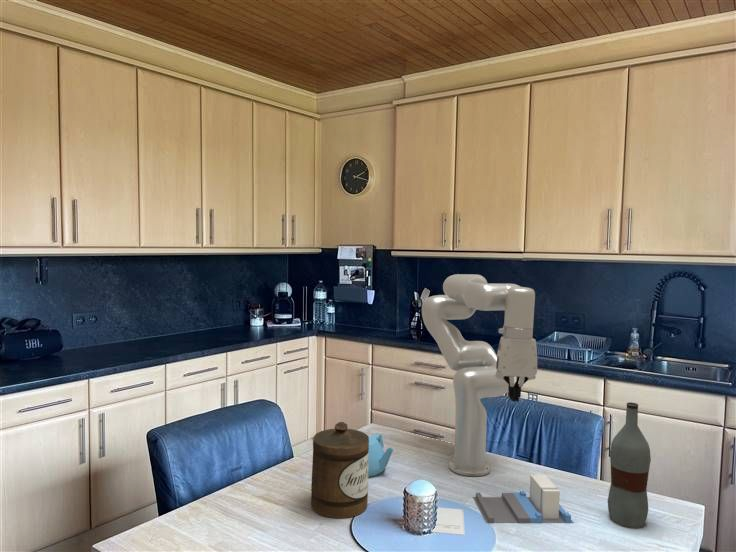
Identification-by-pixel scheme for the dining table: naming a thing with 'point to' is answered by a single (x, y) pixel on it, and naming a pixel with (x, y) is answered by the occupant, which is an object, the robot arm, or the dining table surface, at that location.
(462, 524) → the external hard drive
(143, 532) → the dining table surface
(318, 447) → the wooden container
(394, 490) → the dining table surface
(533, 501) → the block
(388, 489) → the dining table surface
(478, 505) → the board
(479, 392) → the robot arm
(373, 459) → the teapot
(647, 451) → the bottle
